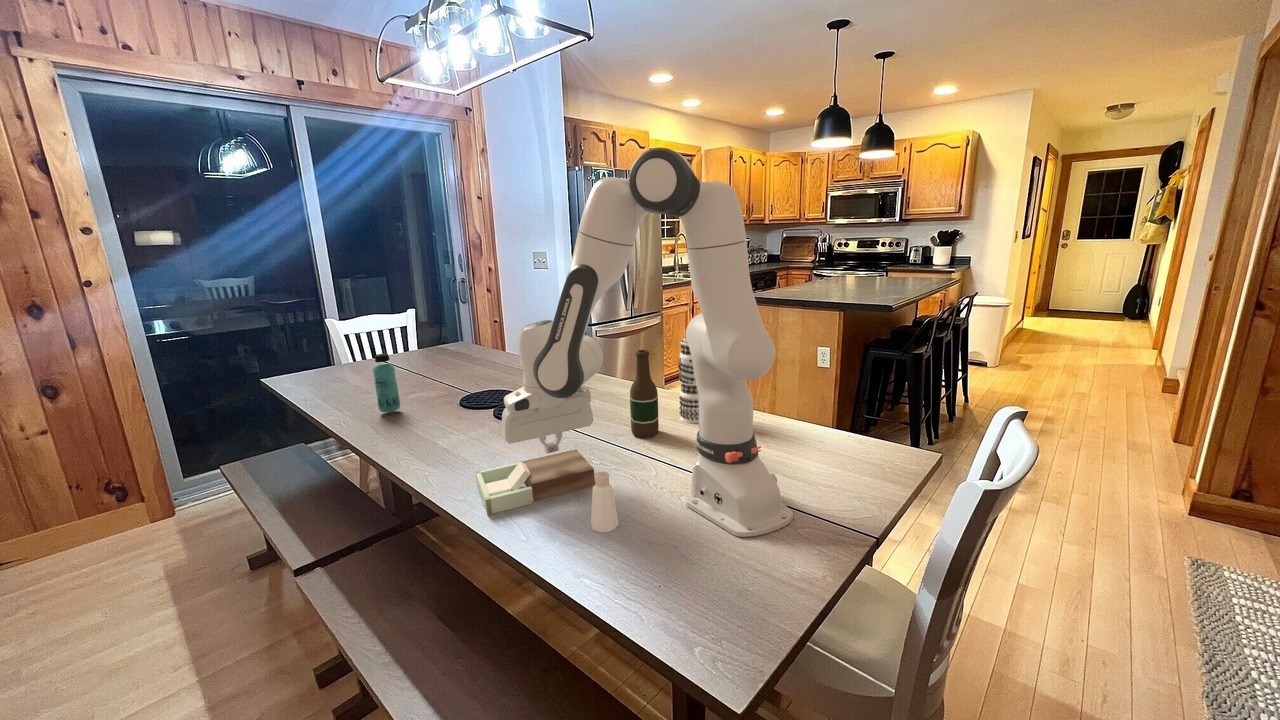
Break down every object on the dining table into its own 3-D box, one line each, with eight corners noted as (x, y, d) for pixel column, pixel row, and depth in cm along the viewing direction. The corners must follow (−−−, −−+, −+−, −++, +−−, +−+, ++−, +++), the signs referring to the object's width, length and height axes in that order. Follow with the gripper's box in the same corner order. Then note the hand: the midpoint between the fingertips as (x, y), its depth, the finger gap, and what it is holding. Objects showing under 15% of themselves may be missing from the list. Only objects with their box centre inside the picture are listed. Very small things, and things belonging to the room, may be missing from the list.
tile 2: (530, 473, 111) (525, 470, 110) (516, 492, 111) (510, 488, 110) (525, 464, 116) (520, 461, 115) (512, 482, 115) (506, 479, 114)
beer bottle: (659, 428, 146) (657, 347, 140) (657, 439, 138) (655, 354, 132) (632, 428, 147) (629, 347, 141) (629, 438, 139) (626, 354, 133)
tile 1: (487, 494, 108) (488, 500, 109) (510, 488, 110) (511, 495, 111) (483, 484, 113) (484, 490, 113) (506, 478, 115) (507, 485, 115)
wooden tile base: (594, 485, 115) (593, 469, 114) (534, 500, 109) (532, 483, 108) (577, 464, 125) (576, 449, 124) (521, 477, 119) (519, 461, 118)
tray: (533, 503, 108) (532, 488, 107) (487, 515, 104) (485, 499, 103) (518, 476, 120) (517, 462, 119) (477, 485, 116) (475, 471, 115)
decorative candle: (714, 415, 154) (714, 335, 148) (701, 425, 146) (701, 341, 140) (686, 411, 159) (686, 333, 152) (673, 420, 151) (672, 339, 145)
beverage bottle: (381, 411, 168) (371, 353, 163) (403, 408, 170) (394, 351, 165) (378, 418, 162) (367, 357, 157) (400, 415, 164) (390, 355, 159)
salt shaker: (585, 525, 99) (581, 474, 96) (606, 514, 103) (603, 465, 100) (603, 536, 95) (600, 484, 93) (624, 524, 99) (621, 473, 96)
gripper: (585, 381, 118) (590, 436, 122) (496, 398, 110) (504, 456, 114) (594, 388, 113) (599, 445, 116) (501, 407, 105) (510, 467, 108)
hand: (552, 451), depth 115 cm, fingers closed
